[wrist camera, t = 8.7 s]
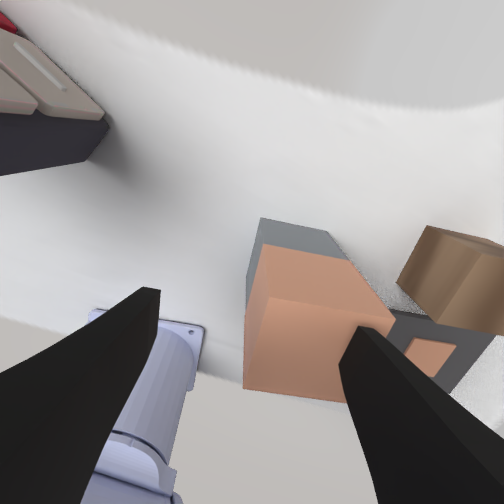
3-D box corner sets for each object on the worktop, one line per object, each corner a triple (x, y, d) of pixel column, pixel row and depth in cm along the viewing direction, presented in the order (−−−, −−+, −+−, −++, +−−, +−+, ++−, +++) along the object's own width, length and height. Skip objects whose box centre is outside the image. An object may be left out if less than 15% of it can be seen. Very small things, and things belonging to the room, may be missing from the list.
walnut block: (395, 282, 21) (435, 323, 16) (425, 224, 19) (481, 253, 14) (450, 293, 21) (504, 336, 17) (486, 238, 19) (558, 270, 15)
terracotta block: (244, 316, 16) (242, 389, 11) (263, 243, 14) (269, 296, 9) (321, 329, 16) (348, 403, 12) (349, 260, 14) (396, 319, 10)
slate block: (246, 276, 21) (245, 316, 16) (260, 216, 18) (264, 244, 14) (306, 287, 21) (321, 329, 16) (326, 230, 19) (350, 261, 14)
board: (353, 374, 25) (356, 381, 24) (388, 308, 22) (393, 314, 21) (445, 388, 26) (451, 395, 25) (492, 327, 23) (500, 334, 22)
